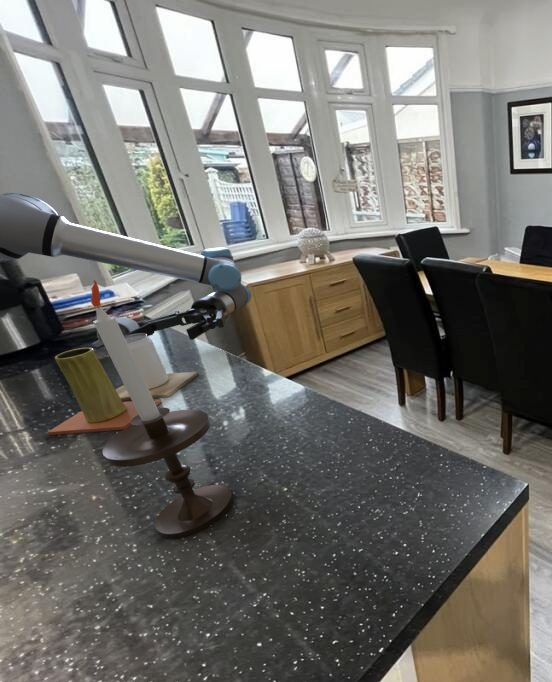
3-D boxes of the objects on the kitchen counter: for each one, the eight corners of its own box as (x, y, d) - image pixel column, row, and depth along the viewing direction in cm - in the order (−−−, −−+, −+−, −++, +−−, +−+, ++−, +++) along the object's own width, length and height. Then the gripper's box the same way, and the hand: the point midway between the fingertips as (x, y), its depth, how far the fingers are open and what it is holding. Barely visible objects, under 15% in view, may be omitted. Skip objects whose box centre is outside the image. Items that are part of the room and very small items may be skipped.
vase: (80, 426, 78) (43, 362, 72) (95, 410, 83) (62, 349, 77) (119, 418, 80) (86, 355, 74) (131, 403, 85) (101, 344, 79)
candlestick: (231, 475, 65) (145, 265, 51) (247, 511, 58) (152, 279, 44) (145, 512, 58) (18, 283, 44) (152, 559, 51) (3, 303, 37)
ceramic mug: (145, 335, 124) (134, 312, 121) (136, 344, 118) (124, 320, 114) (101, 342, 120) (89, 319, 117) (90, 352, 113) (76, 328, 110)
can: (153, 377, 96) (132, 332, 91) (176, 378, 95) (156, 332, 90) (126, 390, 90) (102, 343, 86) (150, 392, 90) (128, 344, 85)
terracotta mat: (49, 435, 77) (47, 432, 76) (94, 407, 86) (92, 404, 86) (125, 429, 78) (123, 426, 77) (161, 402, 87) (160, 399, 87)
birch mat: (101, 402, 88) (100, 399, 87) (139, 378, 98) (138, 375, 97) (168, 397, 89) (166, 394, 88) (198, 374, 99) (197, 371, 98)
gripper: (260, 317, 118) (218, 346, 99) (173, 322, 116) (113, 353, 97) (253, 293, 115) (208, 319, 96) (163, 298, 113) (99, 325, 94)
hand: (160, 336), depth 96 cm, fingers open, 13 cm apart
